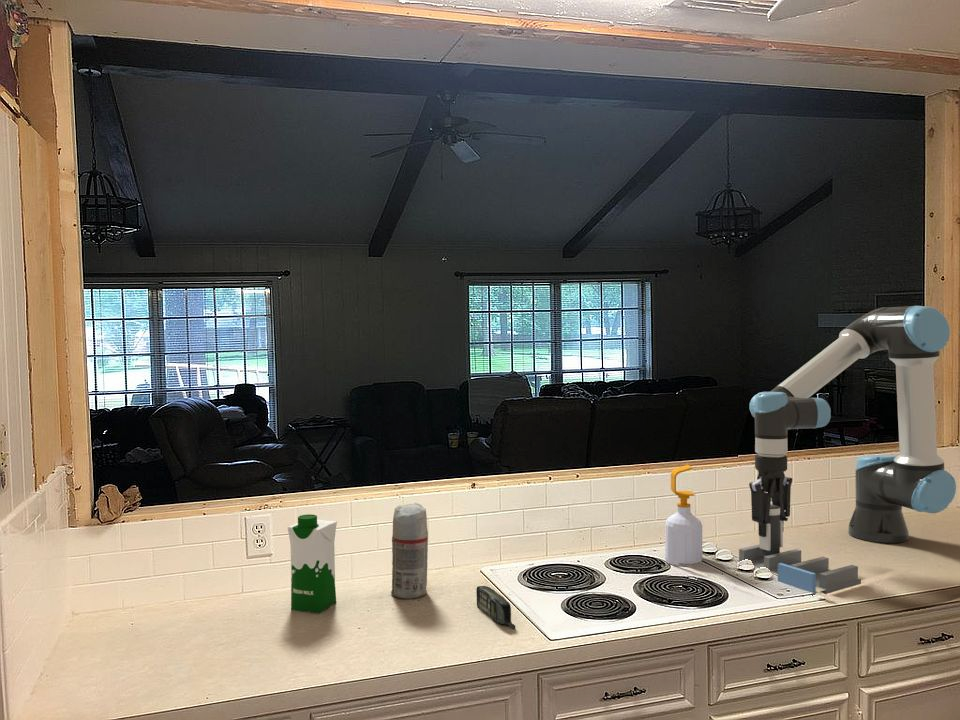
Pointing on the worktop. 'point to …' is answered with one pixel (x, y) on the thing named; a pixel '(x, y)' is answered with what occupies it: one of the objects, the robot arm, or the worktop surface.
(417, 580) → the spray can
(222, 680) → the worktop surface
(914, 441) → the robot arm
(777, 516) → the grey banded cylinder
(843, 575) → the grey slotted rack
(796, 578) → the blue rectangular block
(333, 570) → the milk carton
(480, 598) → the mobile phone
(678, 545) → the soap bottle
